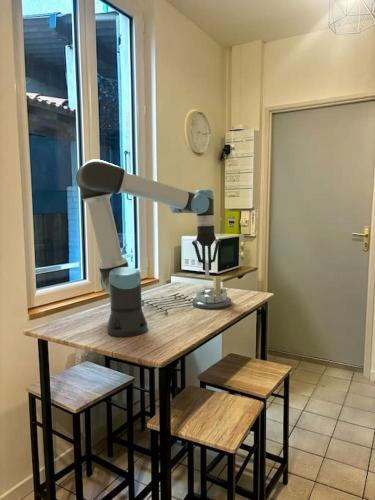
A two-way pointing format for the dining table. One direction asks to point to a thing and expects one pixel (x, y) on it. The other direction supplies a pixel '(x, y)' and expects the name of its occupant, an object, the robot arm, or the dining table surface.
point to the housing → (211, 305)
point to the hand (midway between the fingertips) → (207, 277)
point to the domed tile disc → (219, 293)
